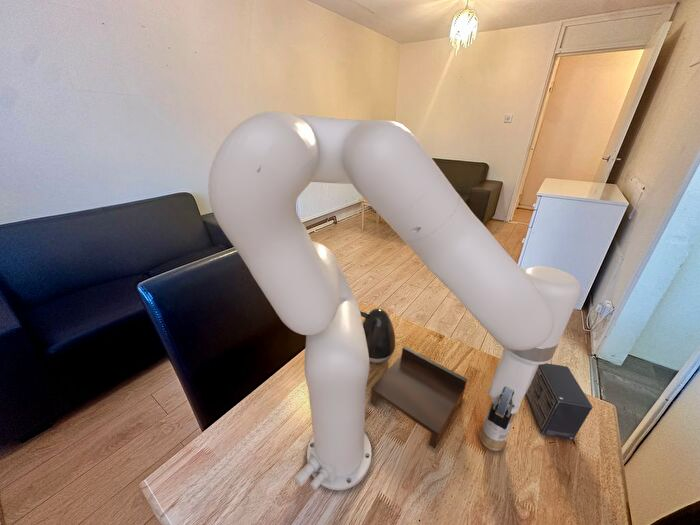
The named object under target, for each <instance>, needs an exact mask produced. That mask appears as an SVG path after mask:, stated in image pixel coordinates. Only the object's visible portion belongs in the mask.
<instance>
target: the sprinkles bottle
mask: <svg viewBox="0 0 700 525" xmlns="http://www.w3.org/2000/svg"><path fill="white" fill-rule="evenodd" d="M502 394H503V393H502ZM511 399H512V398H511ZM495 400H496V398H492V397H491V401H490V404H489V406H488V409H487V412H486V415H485V418H484V420H483V424H482V428H481V430H480V432H479V439H480V441H481V443H482V445H483V446H484V447H485V448H487V449H489V450H491V451H493V452H498V451H501V450H502V449H503V448H504V445H505V441H506V440H507V437H508V436H509V433H510V430H511V428H512V425H513V423H514V419H515V416H516V414H517V413H518V412H519V410H520V407H521V404H522V402H521V403H520V405H519V407H518V408H517V409H512V411H511V414H512V416H511V418H510V421H509V423H508V426H507V428H506V429H503V428H501V427H499V426H498V425H496V424H494V423H493V422H491V421H489V420H488V416H489V413H490V410H491V407H492V405H493V404H494V403H495ZM499 402H500V400H499ZM499 402H498V404H499ZM509 406H510V405H509V404H508V406H507V409H509Z"/></svg>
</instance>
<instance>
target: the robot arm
mask: <svg viewBox="0 0 700 525" xmlns="http://www.w3.org/2000/svg"><path fill="white" fill-rule="evenodd" d="M311 183H324V184H340V185H341V184H342V185H343V184H344V185H352V186H353V187H354V189H355V190H356V191H357V193H358V194H359V195H360V196H361V197H362V198H363V199H364V201H366V202H367V204H368V205H369V206H370V207H371V208H372V209H373V210H374V212H376V213H377V214H378V215H379V217H381V218H382V219H383V221H384V222H386V223H387V224H388V226H389V227H390V228H391V229H392V230H393V231H394V232H395V233H396V234H397V235H398V236H399V237H400V239H401V240H402V241H403V242H404V243H405V245H407V246H408V248H410V250H411V251H412V252H413V253H414V254H415V255H416V256H417V257H418V259H419V261H421V262H422V263H423V265H424V266H425V267H426V268H427V269H428V270H429V271H430V272H431V274H432V275H434V277H436V279H438V280H439V281H440V282H441V283H442V284H443V285H444V286H445V287H446V288H447V289H448V290H449V291H450V292H451V293H452V294H453V295H454V296H455V297H456V299H457V300H458V301H459V302H460V303H461V304H462V306H464V308H465V309H466V310H467V311H468V312H469V313H470V315H472V317H473V318H474V319H475V320H476V321H477V322H478V323H479V324H480V325H481V327H483V329H484V330H485V331H486V332H487V333H488V334H489V335H490V336H491V337H492V338H493V339H494V340H495V342H497V343H498V344H499V345H500V346H502V348H503V350H502V352H501V354H500V357H499V361H498V363H497V365H496V368H495V371H494V375H493V377H492V380H491V383H490V386H489V388H488V390H487V394H488V397H490V398H491V399H492V398H496V400H495V403H494V404H493V405H492V407H491V410H490V413H489V416H488V420H489V421H491V422H493V423H494V424H496V425H498V426H499V427H501V428H503V429H506V428H507V426H508V423H509V421H510V418H511V416H512V414H511V411H512V409H517V408H518V407H519V405H520V406H521V404H522V402H523V401H524V400H523V399H524V398H525V397H526V392H527V390H528V388H529V386H530V384H531V382H532V380H533V377H534V375H535V373H536V371H537V368H538V366H539V364H546V363H548V364H549V363H550V362H551V361H552V359H553V357H554V355H555V353H556V350H557V348H558V346H559V343H560V341H561V339H562V337H563V334H564V332H565V330H566V329H567V328H566V327H567V325H568V323H569V321H570V318H571V316H572V313H573V311H574V309H575V307H576V305H577V303H578V300H579V298H580V296H581V292H582V286H581V283H580V281H579V280H578V279H577V278H576V277H575V276H574V275H572V274H571V273H570V272H569V273H568V272H566V271H564V270H562V269H558V268H555V267H551V266H545V265H537V266H536V265H535V266H530V267H526V268H524V267H521V266H519V264H518V263H517V262H516V261H515V260H514V258H512V256H511V255H510V254H509V253H508V252H507V251H506V250H505V249H504V247H503V246H502V245H501V244H500V243H499V241H498V240H497V239H496V238H495V236H494V235H493V234H492V233H491V231H490V230H489V229H488V228H487V227H486V226H485V225H484V223H483V222H482V221H481V220H480V219H479V218H478V217H477V216H476V214H474V213H473V211H472V210H471V209H470V207H469V206H468V204H467V203H466V202H465V200H464V199H463V198H462V197H461V196H460V194H459V193H458V192H457V191H456V189H455V188H454V186H453V185H452V184H451V182H450V181H449V179H448V178H447V177H446V175H445V174H444V173H443V172H442V170H441V169H440V167H439V166H438V165H437V163H436V161H434V159H433V158H432V156H431V155H430V154H429V153H428V151H427V149H426V148H425V147H424V146H423V145H422V143H421V142H420V141H419V139H418V138H417V137H416V135H414V133H412V131H411V130H410V129H408V127H406V126H404V125H403V124H402V123H399V122H397V121H394V120H388V119H387V120H386V119H351V118H350V119H349V118H348V119H347V118H335V117H325V116H314V115H313V116H312V115H304V114H295V113H286V112H282V111H262V112H259V113H255V114H253V115H251V116H249V117H248V118H246V119H243V120H242V121H241V122H240V123H239V124H237V125H236V126H235V127H234V128H233V129H232V130H231V131H230V132H229V134H227V136H226V137H225V139H224V140H223V141H222V143H221V144H220V145H219V148H218V150H217V152H216V153H215V156H214V158H213V160H212V163H211V167H210V170H209V174H208V185H207V186H208V188H207V189H208V198H209V204H210V207H211V210H212V213H213V215H214V218H215V221H216V222H217V224H218V225H219V227H220V229H221V230H222V232H223V234H224V235H225V236H226V238H227V239H228V241H229V242H230V244H231V245H232V246H233V248H234V249H235V250H236V252H237V253H238V255H239V256H240V257H241V259H242V261H243V262H244V264H245V266H246V267H247V268H248V270H249V272H250V274H251V276H252V277H253V279H254V280H255V282H256V284H257V285H258V286H259V288H260V289H261V291H262V292H263V295H264V297H265V298H266V299H267V301H268V302H269V303H270V306H271V307H272V308H273V310H274V311H275V313H276V315H277V316H278V317H279V319H280V320H281V322H282V323H283V324H284V325H285V326H286V327H287V328H288V329H290V330H291V331H293V332H294V333H297V334H299V335H303V336H305V348H304V349H305V350H304V377H305V381H306V384H307V389H308V390H307V391H308V399H309V408H310V417H311V418H310V419H311V428H312V436H311V437H310V439H309V442H308V445H307V448H306V449H307V450H306V464H305V466H303V467H302V468H301V469H300V470H299V472H297V474H296V475H295V476H294V480H295V482H296V484H297V485H298V486H299V487H300V488H302V487H303V486H304V485H305V484H306V482H307V481H308V480H309V479H310V477H311V476H312V477H313V479H312V481H311V482H310V483H309V484H310V486H311V488H312V489H313V490H314V491H317V490H318V488H319V487H320V486H322V487H324V488H326V489H329V490H332V491H344V490H345V491H346V490H348V489H352V488H353V487H355V486H356V485H358V484H359V483H360V482H361V481H362V480H363V479H364V478H365V476H366V475H367V474H368V471H369V469H370V467H371V463H372V456H373V454H372V452H373V450H372V445H371V441H370V438H369V436H368V435H367V433H366V432H365V431H366V430H365V428H366V425H365V424H366V397H367V385H368V380H369V376H370V361H369V354H368V347H367V342H366V337H365V331H364V328H363V317H362V316H361V313H360V311H361V310H360V306H359V304H358V301H357V299H356V297H355V294H354V292H353V291H352V288H351V286H350V284H349V282H348V280H347V278H346V276H345V273H344V271H343V269H342V266H341V265H340V263H339V261H338V259H337V257H336V256H335V254H334V253H333V252H332V251H331V249H329V248H328V247H327V246H325V245H324V244H322V243H321V242H317V241H312V238H311V235H310V233H309V232H308V230H307V228H306V226H305V224H304V222H303V221H302V220H301V219H300V217H299V216H298V213H297V209H296V208H297V207H296V206H297V200H298V198H300V195H302V193H303V192H304V191H305V190H306V188H308V186H309V185H310V184H311ZM502 393H503V394H502ZM511 398H512V399H511ZM499 400H500V402H499ZM498 402H499V404H498ZM520 403H521V404H520ZM508 404H509V405H510V406H509V409H507V406H508ZM519 408H520V407H519Z"/></svg>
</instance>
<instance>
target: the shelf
mask: <svg viewBox="0 0 700 525" xmlns="http://www.w3.org/2000/svg"><path fill="white" fill-rule="evenodd" d="M467 382H468V378H466V377H464V376H463V375H461V374H459V373H457V372H455V371H453V370H451V369H449V368H447V367H446V366H443V365H441V364H440V363H438V362H436V361H434V360H432V359H430V358H428V357H427V356H424V355H423V354H421V353H419V352H417V351H416V350H413V349H411V348H410V347H408V346H406V345H404V346H403V347H402V348H401V355H400V356H399V358H398V359H396V360H395V362H394V363H393V364H392V365H391V366H390V367H389V368H388V369H387V370H386V372H385V373H384V374H383V375H382V376H381V377H380V378H379V379H378V380H377V381H376V382H375V383H374V385H373V386H372V387H370V388H371V392H370V404H372V405H373V406H374V407H376V405H377V404H378V403H379V401H381V400H383V401H384V402H386V403H387V404H388V405H389V406H392V407H393V408H394V409H396V410H397V411H398V412H400V413H402V414H403V415H404V416H406V417H408V419H410V420H412V421H413V422H415V423H416V424H417V425H419V426H420V427H422V428H423V429H424V430H426V431H428V432H429V433H431V437H430V440H429V441H430V442H429V446H430V447H432V449H434V450H436V448H437V447H438V444H440V441H441V439H442V437H443V436H444V434H445V432H446V430H447V429H448V427H449V425H450V423H451V421H452V420H453V418H454V416H455V415H456V412H457V411H458V409H459V407H460V405H461V404H462V402H463V398H464V394H465V391H466V386H467Z"/></svg>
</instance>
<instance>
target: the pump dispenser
mask: <svg viewBox="0 0 700 525" xmlns="http://www.w3.org/2000/svg"><path fill="white" fill-rule="evenodd" d="M360 313H361V318H364V319H363V320H362V323H363V328H364V331H365V337H366V342H367V347H368V354H369V363H370V362H371V363H374V364H379V363H383V362H386V361H387V360H389V358H390V357H391V356H392V355H393V353H394V352H395V349H396V334H395V329H394V325H393V323H392V320H391V318H390V316H389V314H388V313H387V312H386V311H385V310H384V309H382V308H373V309H372V310H370V311H369V312H365V311H363V310H360Z"/></svg>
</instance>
